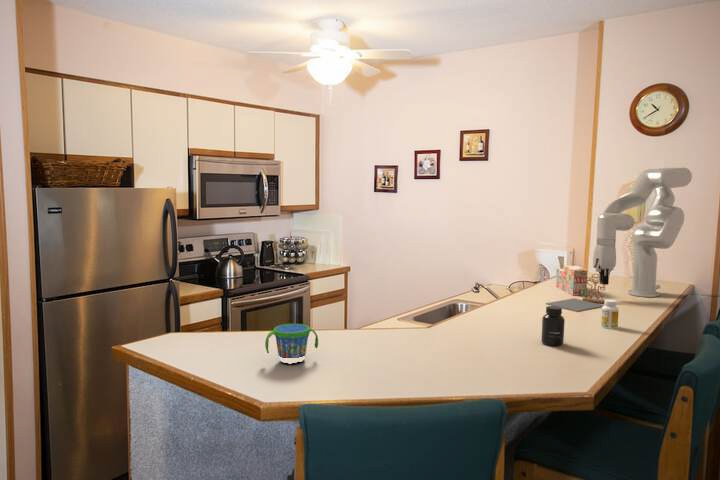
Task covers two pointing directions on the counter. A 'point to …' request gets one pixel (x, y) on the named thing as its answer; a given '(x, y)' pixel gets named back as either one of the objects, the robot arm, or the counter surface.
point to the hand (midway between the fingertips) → (604, 284)
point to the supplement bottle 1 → (553, 326)
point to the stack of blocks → (572, 280)
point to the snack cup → (291, 340)
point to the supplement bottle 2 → (610, 315)
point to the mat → (575, 304)
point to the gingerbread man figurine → (595, 290)
